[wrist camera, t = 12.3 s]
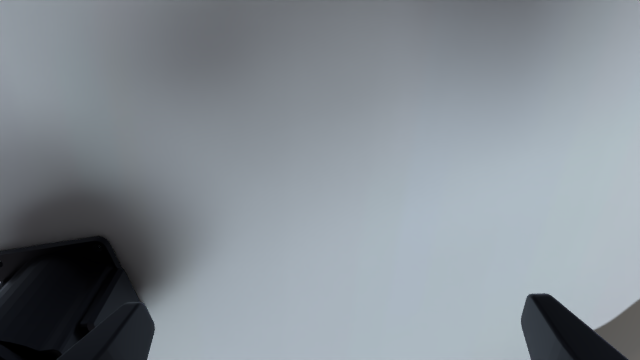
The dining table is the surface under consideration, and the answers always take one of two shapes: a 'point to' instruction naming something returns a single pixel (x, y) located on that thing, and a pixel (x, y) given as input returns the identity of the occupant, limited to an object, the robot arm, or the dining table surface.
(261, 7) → the dining table surface
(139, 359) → the robot arm
